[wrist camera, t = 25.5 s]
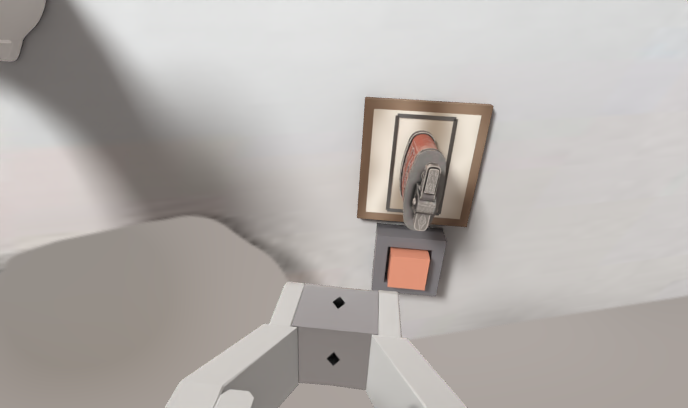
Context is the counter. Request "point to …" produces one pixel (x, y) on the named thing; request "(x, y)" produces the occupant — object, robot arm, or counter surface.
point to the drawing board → (389, 145)
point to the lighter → (421, 180)
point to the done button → (407, 268)
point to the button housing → (414, 240)
